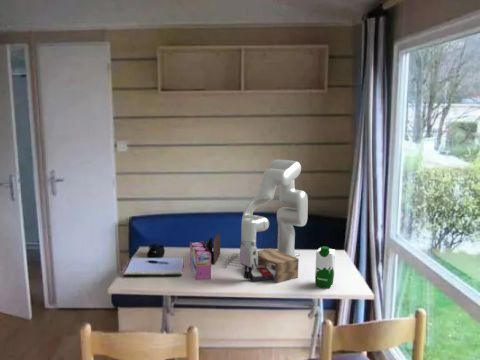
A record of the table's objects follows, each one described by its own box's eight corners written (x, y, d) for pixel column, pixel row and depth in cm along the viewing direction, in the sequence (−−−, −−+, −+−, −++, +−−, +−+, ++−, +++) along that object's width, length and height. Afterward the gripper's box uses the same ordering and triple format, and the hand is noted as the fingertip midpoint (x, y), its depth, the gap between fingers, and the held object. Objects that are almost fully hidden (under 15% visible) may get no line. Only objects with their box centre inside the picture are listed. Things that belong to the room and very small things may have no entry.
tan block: (270, 265, 258) (270, 248, 257) (297, 277, 240) (298, 258, 239) (250, 270, 250) (250, 252, 248) (277, 283, 232) (277, 263, 231)
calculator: (252, 276, 233) (244, 264, 247) (252, 284, 233) (244, 272, 248) (273, 274, 236) (264, 263, 250) (273, 282, 237) (263, 270, 251)
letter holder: (220, 254, 278) (220, 231, 275) (214, 265, 258) (214, 240, 256) (204, 253, 279) (204, 230, 277) (197, 264, 259) (197, 239, 257)
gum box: (188, 265, 257) (188, 241, 255) (203, 264, 259) (203, 240, 257) (196, 280, 235) (196, 254, 233) (211, 279, 237) (211, 253, 235)
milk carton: (313, 286, 229) (314, 247, 226) (317, 280, 237) (319, 242, 234) (330, 289, 225) (332, 250, 222) (335, 283, 233) (337, 245, 230)
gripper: (263, 245, 228) (262, 281, 231) (245, 238, 240) (245, 272, 243) (251, 248, 224) (250, 284, 227) (233, 240, 236) (233, 275, 239)
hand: (247, 278), depth 235 cm, fingers closed
